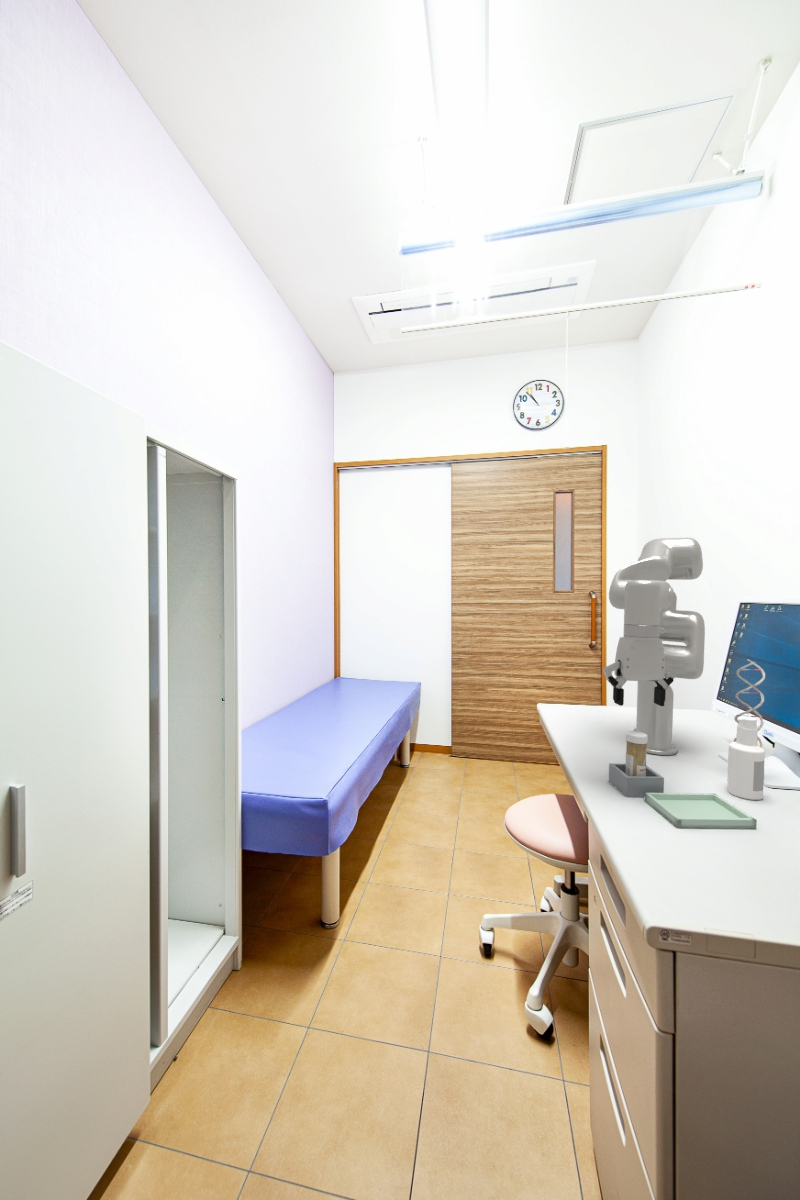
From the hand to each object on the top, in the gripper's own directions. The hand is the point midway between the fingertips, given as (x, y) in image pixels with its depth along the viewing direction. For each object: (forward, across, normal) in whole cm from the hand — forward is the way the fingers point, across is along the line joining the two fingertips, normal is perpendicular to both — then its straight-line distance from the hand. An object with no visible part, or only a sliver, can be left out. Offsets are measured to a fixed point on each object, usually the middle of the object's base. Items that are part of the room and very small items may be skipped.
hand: (638, 704), depth 110 cm
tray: (+20, -7, +12) cm, 24 cm away
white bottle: (+20, -25, +2) cm, 32 cm away
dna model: (+20, -34, -9) cm, 41 cm away
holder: (+20, 0, 0) cm, 20 cm away
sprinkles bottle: (+20, 0, 0) cm, 21 cm away
